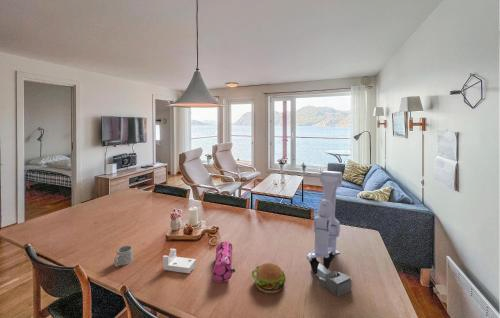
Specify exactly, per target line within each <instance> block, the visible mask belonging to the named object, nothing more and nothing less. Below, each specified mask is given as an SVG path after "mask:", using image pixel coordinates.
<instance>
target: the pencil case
mask: <svg viewBox="0 0 500 318" xmlns="http://www.w3.org/2000/svg"><path fill="white" fill-rule="evenodd" d="M232 257H233V244H232V243H231V242H230V241H226V240H225V241H221V242H219V243H218V244H217V245H216V248H215V261H214V262H215V264H214V266H213V270H212V278H213V280H214V281H215V282H217V283H224V282H226V281H229V280H230V279H231V278H232V275H233V273H235V272H236V269H235V268H232V262H233V261H232V260H233V258H232Z"/></svg>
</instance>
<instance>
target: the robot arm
mask: <svg viewBox="0 0 500 318" xmlns="http://www.w3.org/2000/svg"><path fill="white" fill-rule="evenodd" d="M319 178H320V179H319V181H320V183H321V185H322V186H323V189H322V190H323V191H322V199H321V200H320V201H319V202H318V203H319V204H318V208H317V212H316V215H315V216H314V219H313V227H314V228H313V229H314V250H312V251H311V252H310V253H307V255H306V259H307V261H308V262H309V264H310V269H311V268H312V271H311V273H313V274H314V275H315V274H317V269H318V265H319V263H320V261H319V260H318V259H317V258H323V264H322V265H323V266H324V267H326V268H327V269H328V270H329V269H330V265H331V262H332V261H333V259H334V258H335V255H337V254H339V253H340V251H339V250H338V249H337V238H339V237H340V232H341V223H340V221H339V220H338V219H337V218H336V201H337V199H336V198H337V191H338V188H341V187H342V183H343V173H342V171H332V170H331V171H330V170H322V171H320V177H319ZM320 264H321V263H320Z"/></svg>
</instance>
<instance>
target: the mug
mask: <svg viewBox="0 0 500 318" xmlns="http://www.w3.org/2000/svg"><path fill="white" fill-rule="evenodd" d="M133 261H134V254H133V247H132V245H124V246H121V247H118V248H117V249H116V256H115V257H114V260H113V263H114V266H115V267H120V266H127V265H129V264H131V263H132V262H133Z"/></svg>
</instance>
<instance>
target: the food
mask: <svg viewBox="0 0 500 318" xmlns="http://www.w3.org/2000/svg"><path fill="white" fill-rule="evenodd" d="M251 276H252V278H253V280H254V283H255V286H256V288H257V289H258V290H259V291H260V292H263V293H265V294H275V293H279V292H281V290H282V289H283V287H284V286H285V283H286V275H285V273H284V271H283V270H282V268H281V267H280V266H279V265H278V264H275V263H273V262H272V263H271V262H265V263H263V264H261V265H258V266H256V268H255V269H254V270H253V269H252V271H251Z"/></svg>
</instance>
